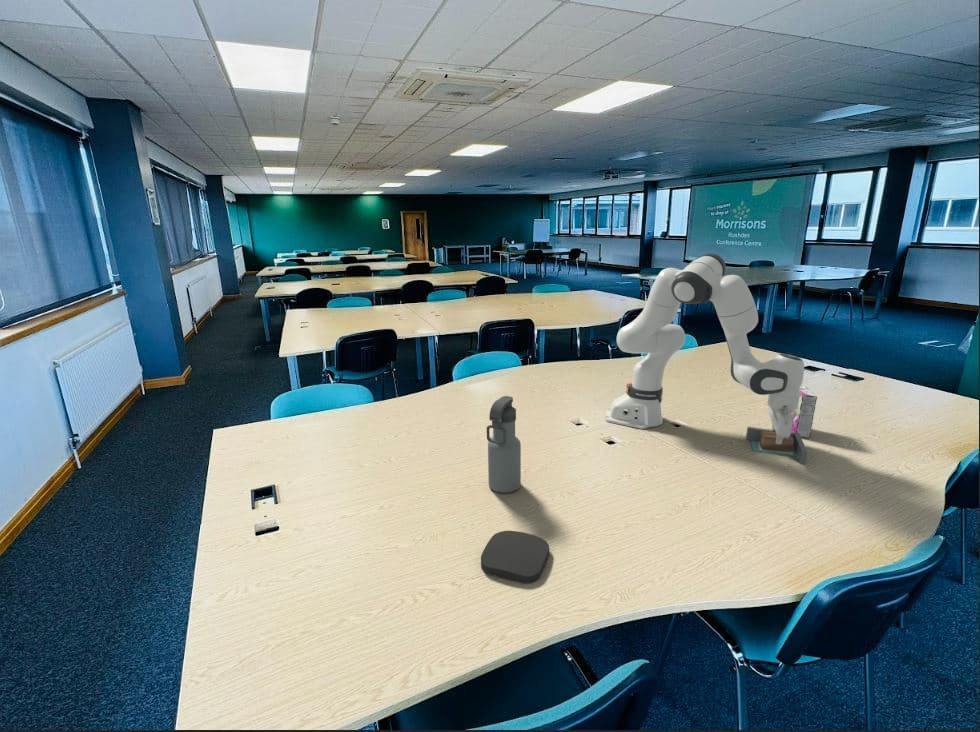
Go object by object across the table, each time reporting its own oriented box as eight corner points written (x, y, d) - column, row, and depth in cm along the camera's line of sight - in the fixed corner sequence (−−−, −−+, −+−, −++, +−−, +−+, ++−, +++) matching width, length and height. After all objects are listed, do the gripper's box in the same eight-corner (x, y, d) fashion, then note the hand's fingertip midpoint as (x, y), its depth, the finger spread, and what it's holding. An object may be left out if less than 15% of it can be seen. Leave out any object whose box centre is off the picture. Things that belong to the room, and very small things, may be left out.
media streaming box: (475, 572, 113) (475, 562, 112) (497, 535, 126) (497, 525, 125) (536, 588, 108) (536, 577, 107) (552, 548, 121) (553, 537, 120)
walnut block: (791, 452, 165) (793, 439, 163) (761, 449, 167) (763, 436, 166) (788, 447, 169) (790, 433, 167) (759, 443, 171) (761, 430, 170)
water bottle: (509, 498, 142) (509, 409, 133) (481, 489, 147) (479, 402, 138) (526, 482, 150) (526, 397, 142) (499, 474, 155) (498, 392, 147)
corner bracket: (749, 456, 164) (751, 444, 162) (745, 438, 177) (747, 426, 176) (805, 464, 158) (807, 451, 157) (796, 444, 171) (798, 433, 170)
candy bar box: (783, 425, 187) (790, 384, 182) (798, 426, 186) (805, 385, 181) (795, 437, 177) (802, 395, 172) (810, 438, 176) (818, 395, 171)
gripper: (800, 413, 153) (792, 453, 157) (788, 392, 171) (782, 428, 175) (777, 411, 155) (770, 450, 159) (768, 390, 173) (762, 425, 177)
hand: (776, 438), depth 167 cm, fingers open, 6 cm apart
